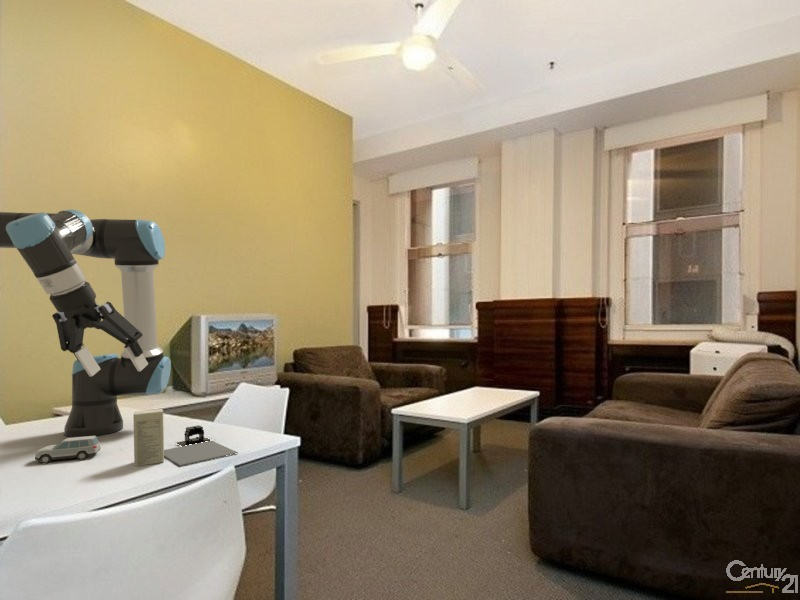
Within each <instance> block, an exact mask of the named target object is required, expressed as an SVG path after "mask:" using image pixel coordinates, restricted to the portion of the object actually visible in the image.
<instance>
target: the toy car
mask: <svg viewBox="0 0 800 600" xmlns="http://www.w3.org/2000/svg"><path fill="white" fill-rule="evenodd" d="M100 450H101V443H100V440H99V439H98V437H97V435H96V436H85V437H67V438H65V439H63V440H61V441H60V442H58V443H57V444H50V445H46V446H44V447H42V448H40V449H38V450H37V452H36V453H35V455H34V460H35V461H40V463H41V464H42V463H45V464H49V463H50V462H52V461H55V460H57V461H58V460H64V459H65V460H66V459H67V460H68V459H75V458H76V459H77V460H78V461H83V460H86V459H87V458H88V457H90V456H91V457H92V456H93V455H96V454H98V452H99V451H100ZM48 462H49V463H48Z"/></svg>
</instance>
